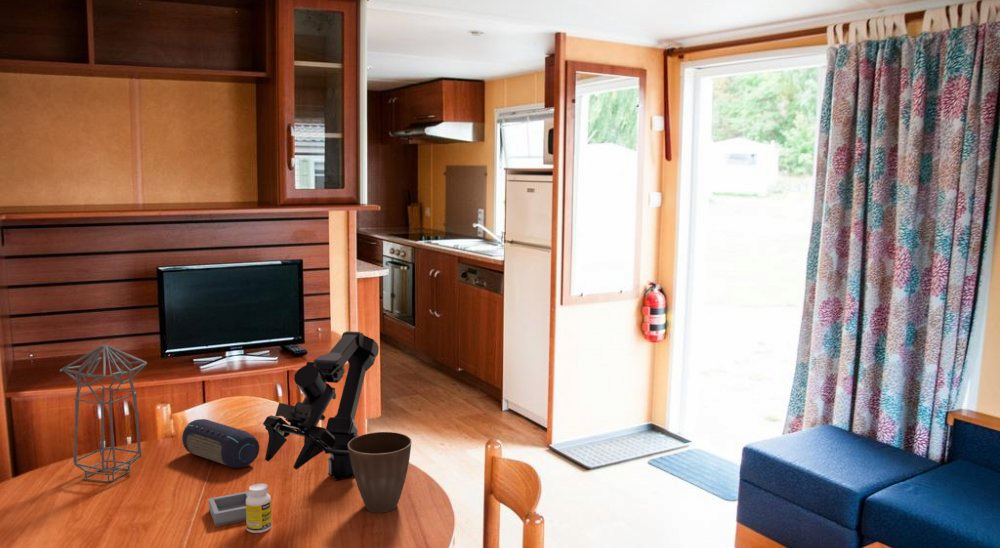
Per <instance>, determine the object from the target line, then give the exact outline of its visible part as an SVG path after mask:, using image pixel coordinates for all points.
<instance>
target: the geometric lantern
mask: <svg viewBox="0 0 1000 548" xmlns="http://www.w3.org/2000/svg"><path fill="white" fill-rule="evenodd" d="M102 351H103V352H102ZM101 353H102V354H103V355H102V357H101V356H100V355H101ZM125 357H127V358H130V359H132V360H134V361H131V362H130V361H129V360H128V359H127V358H125ZM86 358H87V359H86ZM84 359H86V360H85V361H83V363H81V365H75V364H77V363H78V362H81V361H82V360H84ZM101 360H102V369H103V370H102V374H101V373H100V374H94V372H95V370H96V369H97V367H98V365H99V363H100V362H101ZM106 360H107V361H106ZM106 362H108V367H109V374H110V375H106V372H107V371H106V370H107V369H106V368H107V367H106V366H107V365H106ZM118 363H120V364H121V368H120V367H119V366H118ZM126 364H127V365H129V367H128V366H127V365H126ZM134 364H135V365H136V364H140V365H138V366H135V367H133V365H134ZM147 364H148V363H147V361H146V360H143V359H140V358H139V357H136V356H134V355H131V354H130V353H127V352H124V351H122V350H121V349H117V348H115V347H113V346H111V345H108V344H101V345H100V346H98V347H97V348H94V349H93V350H92V351H89V352H88V353H86V354H84V355H83V356H81V357H79V358H77V359H76V360H74V361H72V362H71V363H69V364H67V365H65V366H64V367H62V368H60V369H59V373H62V372H64V373H65V374H67V376H69V377H70V378H71V379H72V380H74V382H76V385H77V386H76V387H77V388H76V395H75V398H74V399H73V400H74V443H73V444H74V445H73V458H72V459H73V460H72V461H73V465H74V466H75V467H77V468H78V469H79V470H82V471H83V472H84V478H83V479H84V480H85V481H89V482H90V481H92V482H99V483H100V482H102V483H111V482H114V481H115V480H117V479H119V478H121V477H123V476H124V475H127V474H128V473H130V472H131V465H133V464H134V463H135V462H136V461H138V460H139V459H140V458H142V456H143V455H142V447H141V446H142V445H141V437H140V430H139V427H140V426H139V415H138V401H137V392H136V389H135V385H134V382H133V379H134V378H135V377H136V376H137V374H138V373H139V372H141V371H142V370H143V369H144V368H145V366H147ZM73 365H75V366H73ZM111 365H113V366H114V368H115V369H116V371H117V372H112V367H111ZM86 367H87V371H86V373H83V372H82V371H84V369H85V368H86ZM132 367H133V368H132ZM124 368H125V369H126V370H127V371H126V370H124ZM74 369H78V370H74ZM72 374H74V375H75V376H74V375H72ZM132 374H133V375H132ZM123 375H128V376H129V377H128V379H126V380H124V381H123ZM87 377H88V378H91V377H93V378H94V380H92V381H91V382H89V383H88V382H87ZM106 377H107V378H110V377H111V378H114V379H113V380H112V382H111V383H110V385H109V386H108V387H105V386H104V385H103V384H102V382H100V380H101V379H103V378H106ZM119 377H120V378H119ZM82 378H83V379H84V383H82V382H81V381H82ZM116 381H117V382H118V383H119V384H118V386H117V387H116V388H113V385H114V383H116ZM96 382H98V384H99V385H100V386H101V387H100V388H98V389H93V387H92V386H91V385H93V384H95V383H96ZM126 383H129V386H130V389H129V390H128V389H121V388H120V387H121V385H124V384H126ZM82 386H86V387H88V389H89V391H88V392H86V393H82V394H80V393H81V390H82ZM107 390H109V392H108V393H109V394H108V395H109V399H108V401H105V391H107ZM98 391H101V399H100V397H99V396H98V395H97V393H96V392H98ZM112 391H114V392H113V393H112ZM117 391H121V392H126V393H127V392H128V393H132V394H129V395H125V396H123V397H121V398H118V399H115V400H113V397H114V396H115V395H116V393H117ZM89 394H93V395H94V397H95V398H96V400H97V401H93V400H86V399H80V398H81V397H83V396H86V395H89ZM129 397H132V401H133V408H134V409H133V410H134V418H135V429H136V441H137V442H136V444H137V450H134V449H133V450H132V449H125V448H119V447H115V437H114V436H115V435H114V426H113V425H114V424H113V403H115V402H118V401H121V400H124V399H126V398H129ZM80 402H86V403H90V404H91V403H92V404H98V405H100V415H101V416H100V420H101V421H100V441H99V443H100V448H99V449H96V450H94V451H91V452H90V453H87V454H84V455H83V456H80V457H78V458H77V456H78V455H77V452H78V429H79V428H78V427H79V412H80ZM104 405H108V412H109V413H108V414H109V425H110V443H111V444H110V447H105V430H104V429H105V427H104V426H105V425H104V424H105V423H104V421H105V419H104V418H105V417H104V413H105V411H104V408H105V406H104ZM105 450H106V451H107V450H109V452H108V454H107V457H106V459H105ZM116 450H117V451H121V452H128V453H134V454H135V455H134V456H133V457H132V458H130V459H129V460H126V461H119V460H116ZM99 452H100V453H99ZM97 453H99V454H100V456H101V460H100V461H99V462H97V463H95V464H94V465H88V464H83V463H78V462H79V461H80V460H83V459H84V458H87V457H90V456H91V455H94V454H97ZM111 453H112V460H109V459H110V456H111ZM109 463H113V466H109ZM118 463H119V464H118ZM100 464H101V467H96V466H98V465H100ZM105 465H106V466H105ZM124 465H125V466H124ZM121 466H123V467H121ZM85 468H86V469H85ZM91 469H92V470H95V471H91ZM109 470H112V471H111V473H109V472H107V471H109ZM123 470H124V471H126V472H124V473H122V474H120V475H118V476H117V477H115V474H116V473H118V472H120V471H123ZM100 471H101V472H100ZM102 472H103V473H102ZM88 473H89V475H88ZM94 474H97V475H102V476H107V480H106V479H105V480H104V479H94V478H89V477H91V476H93V475H94ZM110 476H111V477H112V479H110Z"/></svg>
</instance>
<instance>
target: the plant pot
mask: <svg viewBox="0 0 1000 548" xmlns="http://www.w3.org/2000/svg"><path fill="white" fill-rule="evenodd" d="M412 442H413V441H412V438H411V437H410V436H408V435H406V434H405V433H404V434H403V433H400V432H392V431H376V432H370V433H365V434H360V435H358V437H355V438H353V439H352V440H350V441H349V443H348V450H349V456H350V461H351V465H352V469H353V473H354V477H353V478H354V480H355V482H356V486H357V488H358V492H359V494H360V497H361V499H362V502H363V504H364V506H365V508H366V510H368V511H370V512H372V513H378V514H381V513H388V512H391V511H393V510H395V509H396V508H397V506H398V504H399V502H400V499H401V496H402V494H403V493H402V492H403V489H404V485H405V482H406V478H407V474H408V470H409V469H408V468H409V463H410V457H411V450H412Z"/></svg>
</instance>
